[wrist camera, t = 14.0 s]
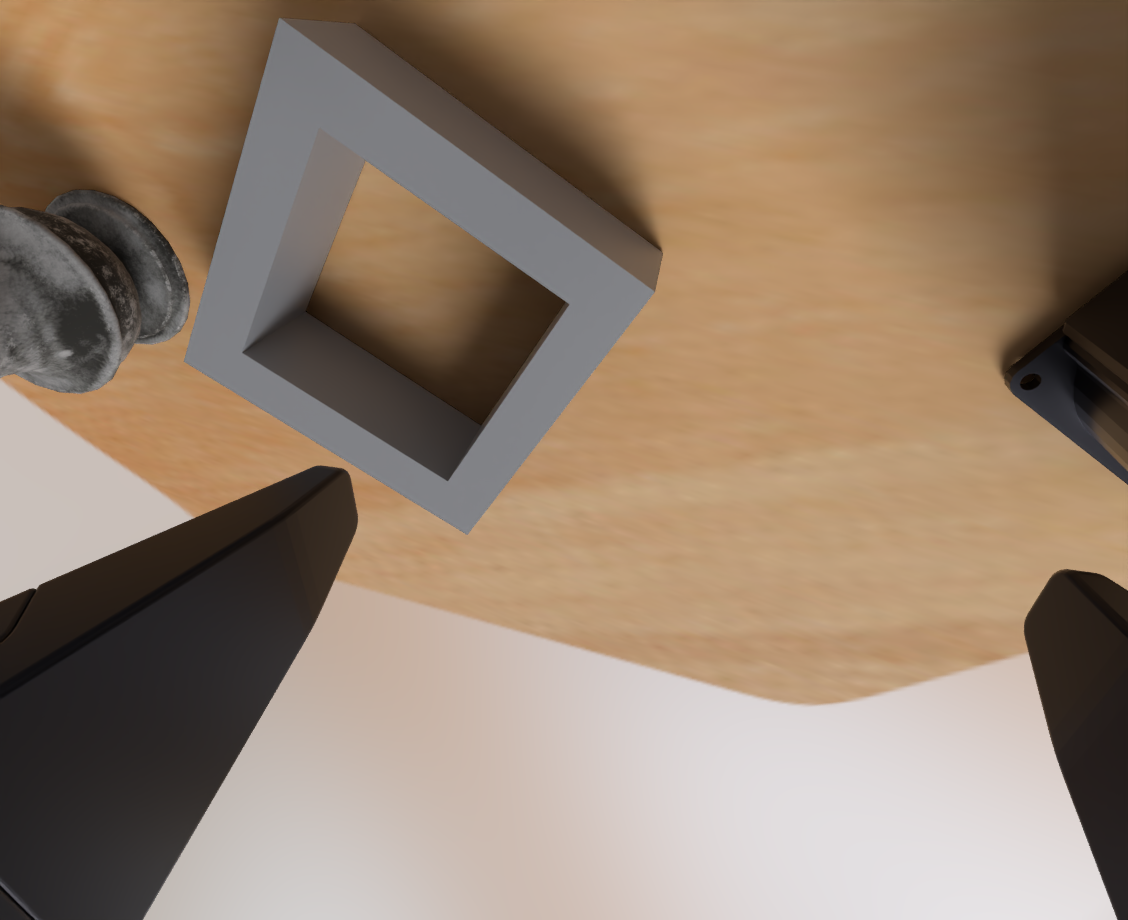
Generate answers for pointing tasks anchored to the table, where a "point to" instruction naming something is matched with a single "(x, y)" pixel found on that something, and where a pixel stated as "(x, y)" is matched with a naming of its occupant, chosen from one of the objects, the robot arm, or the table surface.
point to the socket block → (456, 190)
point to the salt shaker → (83, 290)
